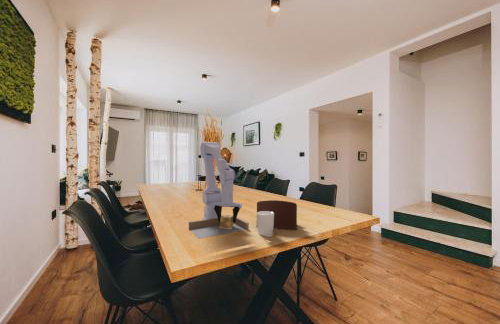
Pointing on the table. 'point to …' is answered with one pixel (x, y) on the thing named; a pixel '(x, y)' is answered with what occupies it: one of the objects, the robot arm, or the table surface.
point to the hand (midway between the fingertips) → (227, 221)
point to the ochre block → (226, 221)
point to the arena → (215, 227)
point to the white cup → (265, 223)
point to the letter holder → (281, 213)
